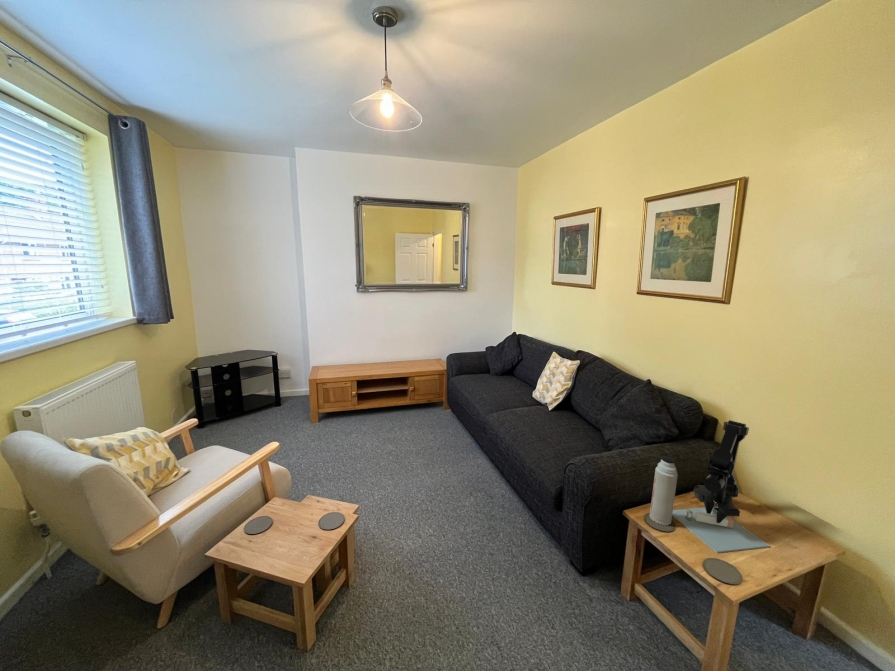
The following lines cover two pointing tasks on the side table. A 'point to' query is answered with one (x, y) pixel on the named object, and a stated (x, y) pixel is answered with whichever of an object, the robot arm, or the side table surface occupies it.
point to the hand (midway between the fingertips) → (713, 518)
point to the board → (719, 533)
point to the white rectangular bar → (713, 519)
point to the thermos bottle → (663, 491)
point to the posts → (690, 513)
